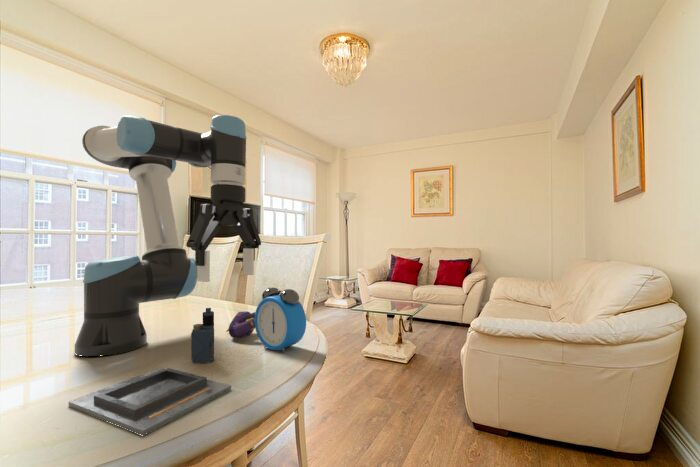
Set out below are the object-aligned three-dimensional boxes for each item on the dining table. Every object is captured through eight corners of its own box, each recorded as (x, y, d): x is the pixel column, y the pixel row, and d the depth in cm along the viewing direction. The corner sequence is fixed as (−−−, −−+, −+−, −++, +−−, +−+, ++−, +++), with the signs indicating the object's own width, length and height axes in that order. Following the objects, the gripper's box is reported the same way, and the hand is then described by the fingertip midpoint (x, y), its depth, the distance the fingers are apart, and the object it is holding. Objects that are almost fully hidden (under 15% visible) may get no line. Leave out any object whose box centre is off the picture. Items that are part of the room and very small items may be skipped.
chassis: (68, 406, 55) (68, 394, 55) (160, 371, 69) (160, 362, 70) (142, 436, 46) (142, 422, 46) (231, 389, 61) (231, 378, 61)
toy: (265, 331, 101) (266, 309, 101) (253, 344, 89) (255, 320, 89) (229, 328, 101) (230, 306, 101) (213, 342, 89) (214, 317, 89)
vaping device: (209, 364, 73) (209, 309, 74) (188, 362, 75) (188, 308, 75) (216, 359, 76) (216, 307, 76) (196, 358, 77) (196, 306, 77)
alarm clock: (253, 346, 85) (253, 288, 86) (272, 340, 91) (271, 285, 91) (290, 356, 78) (289, 291, 78) (307, 349, 83) (307, 288, 83)
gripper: (194, 175, 64) (193, 286, 63) (275, 191, 86) (274, 273, 86) (167, 177, 67) (166, 283, 67) (252, 192, 89) (252, 271, 89)
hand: (227, 278), depth 76 cm, fingers open, 13 cm apart
